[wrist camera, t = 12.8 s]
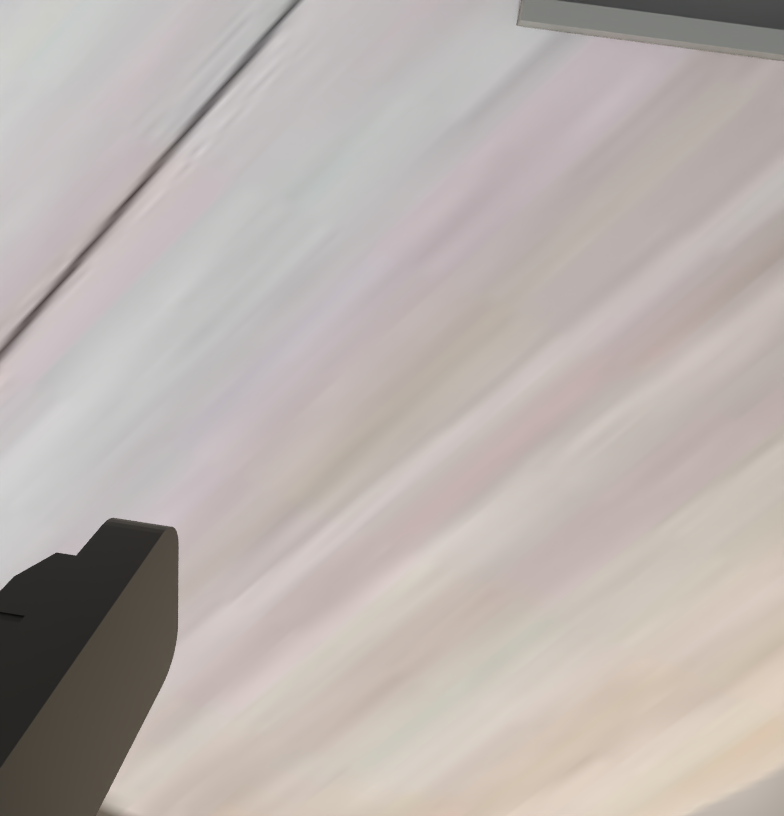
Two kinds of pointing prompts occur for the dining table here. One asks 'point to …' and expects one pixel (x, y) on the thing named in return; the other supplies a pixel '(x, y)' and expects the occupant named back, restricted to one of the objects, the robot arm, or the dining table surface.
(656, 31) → the tray
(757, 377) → the dining table surface
